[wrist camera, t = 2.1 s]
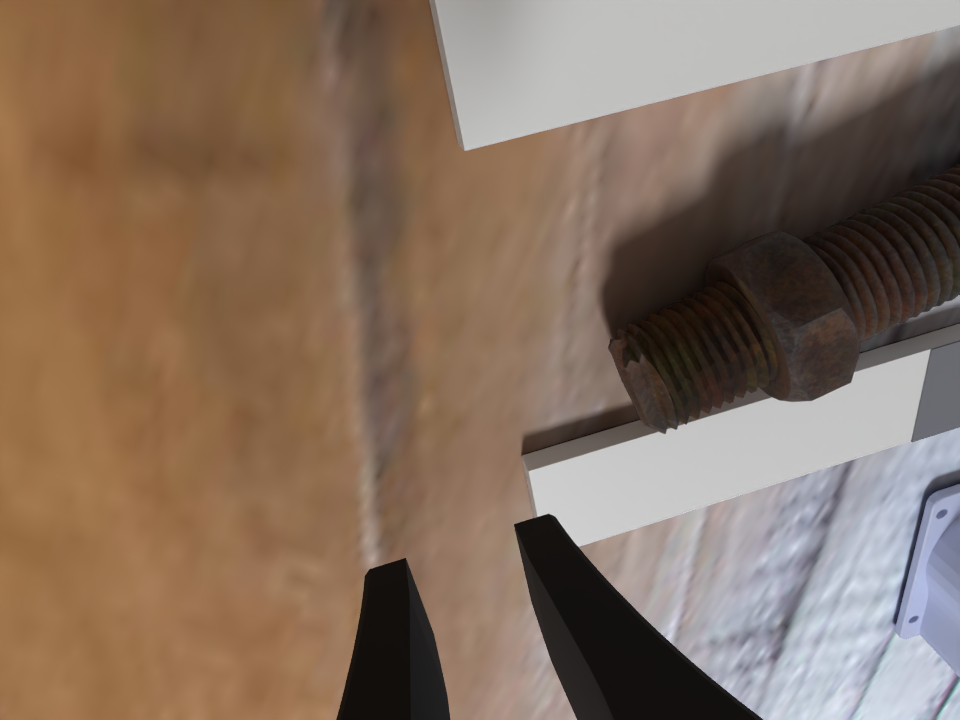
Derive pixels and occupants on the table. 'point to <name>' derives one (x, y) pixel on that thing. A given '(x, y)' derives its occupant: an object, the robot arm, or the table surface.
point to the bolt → (795, 308)
